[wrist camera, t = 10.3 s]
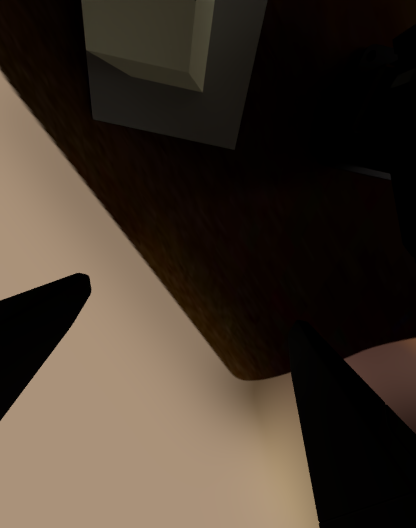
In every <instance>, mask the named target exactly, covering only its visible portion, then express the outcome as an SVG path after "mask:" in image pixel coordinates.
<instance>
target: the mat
mask: <svg viewBox="0 0 416 528" xmlns="http://www.w3.org/2000/svg"><path fill="white" fill-rule="evenodd" d="M266 5H267V0H215V3H214V10H213V18H212V25H211V33H210V40H209V48H208V55H207V63H206V70H205V78H204V85H203V92H198V91H194V90H190V89H185V88H181V87H176V86H172V85H167V84H163V83H158V82H154V81H149V80H145V79H140V78H136V77H131V76H129V75H128V74H126V73H124V72H123V71H121V70H119V69H118V68H116V67H114V66H112V65H111V64H109V63H107V62H106V61H104V60H102V59H101V58H99V57H97V56H96V55H94V54H92V53H90V52H89V51H87V50H86V56H87V66H88V76H89V86H90V96H91V106H92V116H93V119H94V120H99V121H104V122H108V123H113V124H117V125H122V126H127V127H131V128H136V129H140V130H145V131H150V132H154V133H159V134H164V135H168V136H173V137H177V138H182V139H187V140H191V141H196V142H200V143H205V144H210V145H214V146H219V147H224V148H228V149H233V150H235V145H236V141H237V136H238V132H239V127H240V122H241V118H242V113H243V109H244V104H245V100H246V95H247V91H248V86H249V82H250V77H251V73H252V68H253V64H254V59H255V55H256V50H257V45H258V41H259V36H260V32H261V27H262V23H263V18H264V14H265V9H266ZM81 6H82V1H81ZM82 16H83V11H82ZM83 26H84V22H83ZM84 36H85V32H84ZM85 46H86V43H85Z"/></svg>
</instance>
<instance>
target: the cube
mask: <svg viewBox="0 0 416 528" xmlns="http://www.w3.org/2000/svg"><path fill="white" fill-rule="evenodd" d="M81 1H82V11H83V22H84V32H85V43H86V50H87V51H89V52H90V53H92V54H94V55H96V56H97V57H99V58H101V59H102V60H104V61H106V62H107V63H109V64H111V65H112V66H114V67H116V68H118V69H119V70H121V71H123V72H124V73H126V74H128V75H129V76H131V77H136V78H140V79H145V80H149V81H154V82H158V83H163V84H167V85H172V86H176V87H181V88H185V89H190V90H194V91H198V92H203V85H204V78H205V70H206V63H207V55H208V48H209V40H210V33H211V25H212V18H213V10H214V3H215V0H81Z"/></svg>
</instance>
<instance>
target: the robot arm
mask: <svg viewBox="0 0 416 528" xmlns="http://www.w3.org/2000/svg"><path fill="white" fill-rule="evenodd" d="M393 47H394V48H391V47H386V46H382V45H377V44H373V45H371V46H369V47H368V48H366V49H365V50H364V51H363V52H362V53H361V55H360V57H359V59H358V62H357V64H356V66H355V69H354V71H353V73H352V76H351V78H350V81H349V82H347V83H346V84H345V85H343V87H342V89H341V92H340V94H339V97H338V99H337V101H336V104H335V106H334V109H333V111H332V114H331V116H330V118H329V121H328V123H327V126H326V128H325V132H326V134H327V135H326V138H325V140H324V143H323V145H322V147H321V150H320V152H319V155H318V158H317V161H318V163H319V164H321V165H324V166H329V167H334V168H338V169H343V170H347V171H352V172H357V173H361V174H366V175H370V176H375V177H380V178H384V179H389V180H391V181H392V186H393V192H394V198H395V203H396V209H397V214H398V220H399V226H400V231H401V237H402V242H403V245H404V246H405V248H406V249H407V251H408V252H409V253H410V255H411V256H412V257H414V258H415V263H416V24H415V25H413V26H412V27H410V28H409V29H407V30H406V31H404V32H403V33H402V34H400V35H399V36H397V37H396V38H394V39H393ZM369 52H370V53H372V59H371V61H370V62H368V61H367V59H366V57H367V54H368V53H369ZM325 154H327V155H328V158H327V160H326V161H323V156H324V155H325ZM90 294H91V285H90V278H89V276H88V275H86V274H82V273H76V274H73V275H70V276H68V277H65V278H62V279H59V280H56V281H54V282H51V283H48V284H45V285H43V286H40V287H37V288H34V289H31V290H29V291H26V292H23V293H20V294H17V295H15V296H12V297H9V298H6V299H3V300H1V301H0V421H1V419H2V418H3V416H4V415H5V414H6V413H7V411H8V410H9V408H10V407H11V406H12V405H13V403H14V402H15V401H16V399H17V398H18V397H19V395H20V394H21V393H22V391H23V390H24V389H25V387H26V386H27V385H28V383H29V382H30V381H31V379H32V378H33V376H34V375H35V374H36V373H37V371H38V370H39V369H40V367H41V366H42V365H43V363H44V362H45V361H46V359H47V358H48V357H49V355H50V354H51V353H52V351H53V350H54V348H55V347H56V346H57V345H58V343H59V342H60V341H61V339H62V338H63V337H64V335H65V334H66V333H67V331H68V330H69V328H70V327H71V326H72V324H73V323H74V321H75V319H76V318H77V316H78V314H79V313H80V311H81V309H82V308H83V306H84V304H85V303H86V301H87V299H88V297H89V296H90ZM288 342H289V355H290V368H291V376H292V381H293V387H294V392H295V397H296V403H297V408H298V414H299V418H300V424H301V430H302V435H303V440H304V446H305V451H306V457H307V462H308V467H309V473H310V478H311V483H312V489H313V494H314V499H315V505H316V510H317V516H318V521H319V522H320V523H319V527H320V528H416V434H415V433H414V432H413V431H412V430H411V429H410V428H409V427H408V426H407V425H406V424H405V423H404V422H403V421H402V420H401V419H400V418H399V417H398V416H397V415H396V413H394V411H393V410H392V409H391V408H390V407H389V406H388V405H385V402H384V401H383V400H382V399H381V398H380V397H379V396H378V395H377V394H376V393H375V392H374V391H373V390H372V389H371V388H370V387H369V385H368V384H367V383H366V382H365V381H364V380H363V379H362V378H361V377H360V376H359V375H358V374H357V373H356V372H355V371H354V370H353V369H352V368H351V367H350V366H349V365H348V364H347V363H346V362H345V361H344V359H343V358H342V357H341V356H340V355H339V354H338V353H337V352H336V351H335V350H334V349H333V348H332V347H331V346H330V345H329V344H328V343H327V342H326V341H325V340H324V339H323V338H322V337H321V336H320V335H319V333H318V332H317V331H316V330H315V329H314V328H313V327H312V326H311V325H310V324H309V323H308V322H306V321H301V320H297V321H296V322H295V323H294V325H293V326H292V328H291V330H290V331H289V334H288Z"/></svg>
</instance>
